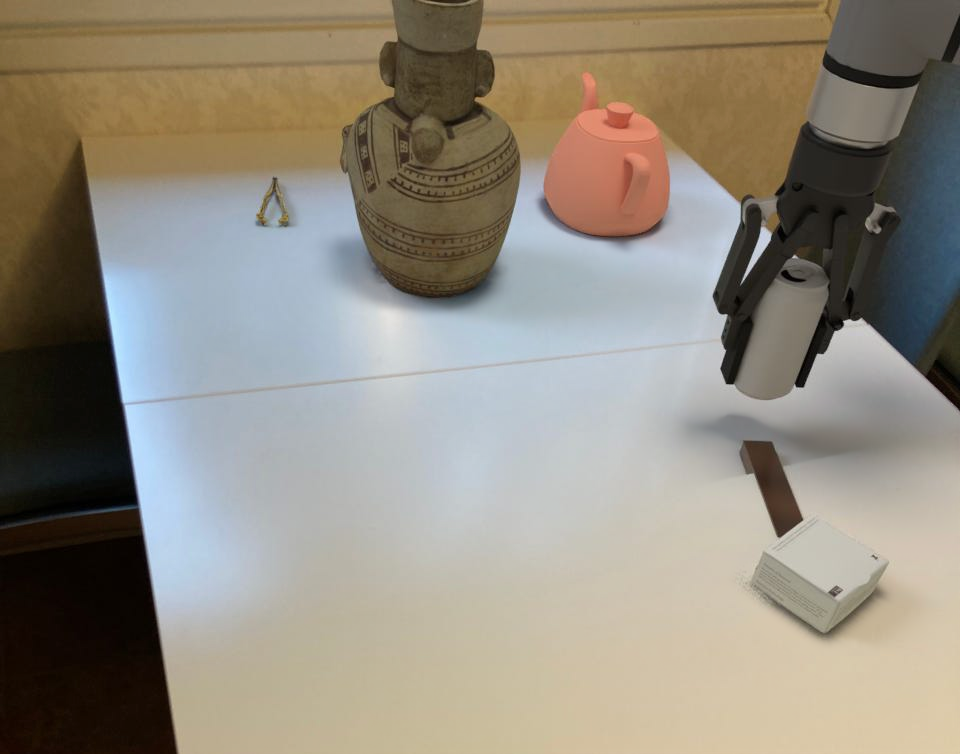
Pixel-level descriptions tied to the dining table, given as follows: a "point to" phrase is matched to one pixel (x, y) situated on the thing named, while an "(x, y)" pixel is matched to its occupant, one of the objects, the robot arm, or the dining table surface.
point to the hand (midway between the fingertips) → (761, 377)
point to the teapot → (608, 170)
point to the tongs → (265, 200)
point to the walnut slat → (772, 484)
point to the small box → (818, 572)
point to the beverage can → (782, 330)
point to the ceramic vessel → (433, 155)
